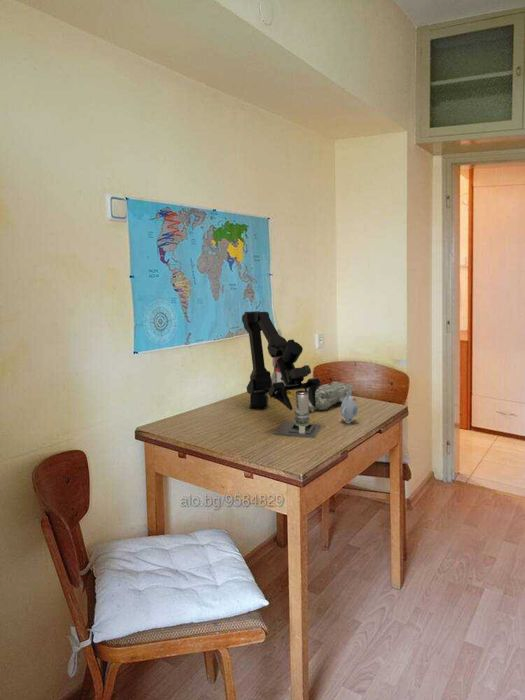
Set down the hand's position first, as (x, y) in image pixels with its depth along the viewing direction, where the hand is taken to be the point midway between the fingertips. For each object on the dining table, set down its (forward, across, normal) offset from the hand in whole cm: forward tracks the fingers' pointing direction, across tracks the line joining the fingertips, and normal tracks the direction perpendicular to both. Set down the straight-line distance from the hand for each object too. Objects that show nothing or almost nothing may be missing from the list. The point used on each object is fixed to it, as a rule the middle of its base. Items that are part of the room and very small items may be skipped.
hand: (303, 407), depth 183 cm
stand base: (+4, 0, +9) cm, 10 cm away
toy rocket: (-28, +16, +41) cm, 52 cm away
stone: (-12, +28, +25) cm, 39 cm away
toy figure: (+4, +21, +9) cm, 23 cm away
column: (+5, 0, +6) cm, 8 cm away
